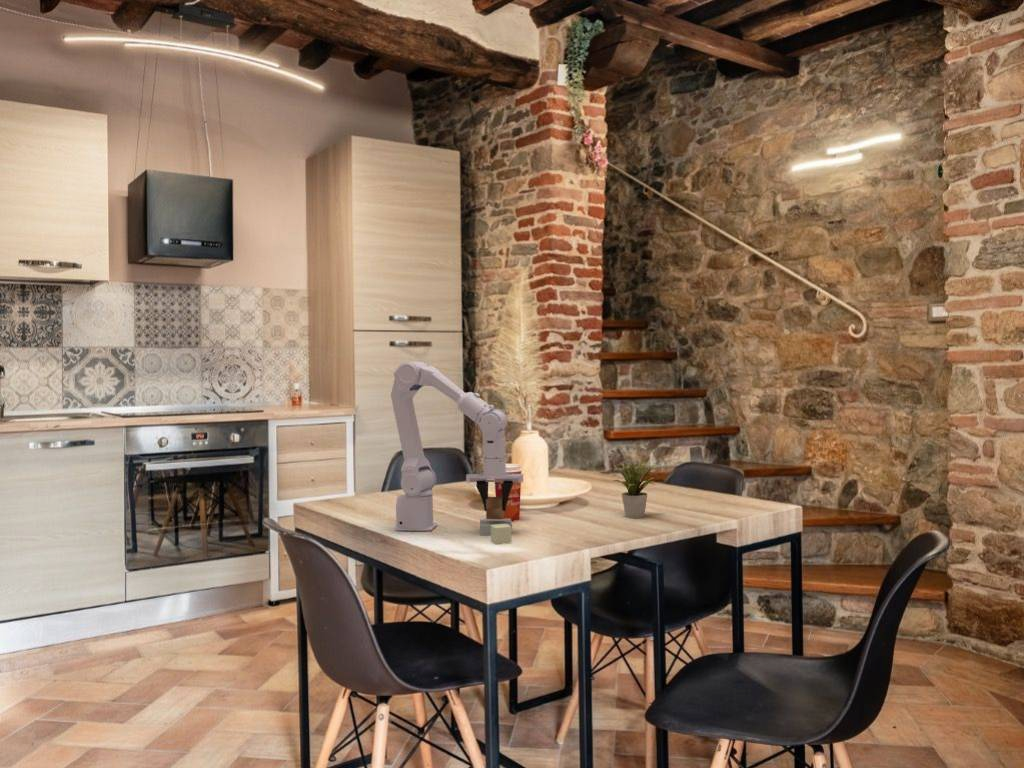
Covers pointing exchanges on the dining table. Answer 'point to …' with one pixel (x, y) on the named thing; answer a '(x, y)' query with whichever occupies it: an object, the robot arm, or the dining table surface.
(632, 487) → the house plant
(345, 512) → the dining table surface
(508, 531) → the sage block
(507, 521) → the base block
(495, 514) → the walnut block
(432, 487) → the robot arm
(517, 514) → the coffee cup
